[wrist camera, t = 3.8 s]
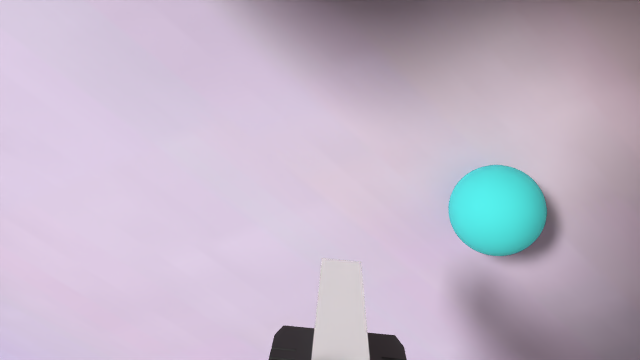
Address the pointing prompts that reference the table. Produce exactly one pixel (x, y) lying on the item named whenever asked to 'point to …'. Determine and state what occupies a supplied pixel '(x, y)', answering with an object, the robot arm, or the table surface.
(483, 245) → the ball
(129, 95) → the table surface
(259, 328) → the table surface
